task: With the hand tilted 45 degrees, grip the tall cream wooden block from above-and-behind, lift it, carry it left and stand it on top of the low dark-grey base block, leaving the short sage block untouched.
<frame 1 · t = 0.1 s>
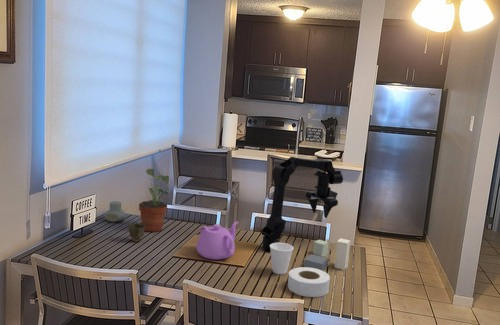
hand: (319, 215, 222), 15 cm above the table, tool pointing down, fingers open, 9 cm apart
air freshener: (115, 221, 237), on the table
cup: (279, 272, 185), on the table
base block: (315, 267, 193), on the table
sage block: (320, 254, 209), on the table
teapot: (218, 254, 200), on the table
cream block: (341, 267, 195), on the table
cup 2: (136, 241, 209), on the table
potted plant: (153, 229, 228), on the table
roll of tape: (307, 288, 171), on the table
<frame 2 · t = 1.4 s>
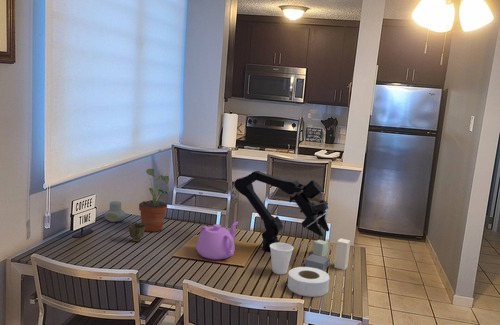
hand: (325, 233, 197), 13 cm above the table, tool tilted 45°, fingers open, 9 cm apart
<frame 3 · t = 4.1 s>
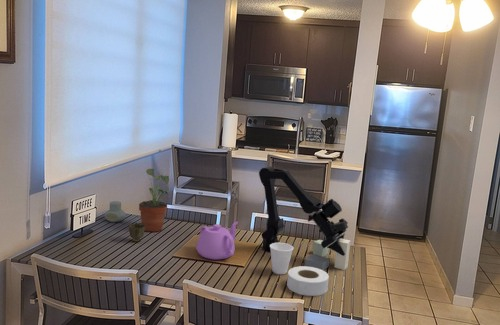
hand: (345, 253, 193), 7 cm above the table, tool tilted 45°, fingers closed on cream block, 5 cm apart
cream block: (341, 267, 195), on the table, touching gripper
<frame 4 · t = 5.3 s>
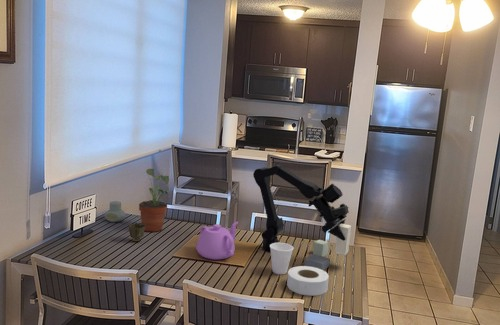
hand: (346, 238, 192), 13 cm above the table, tool tilted 45°, fingers closed on cream block, 5 cm apart
cream block: (341, 252, 194), point 7 cm above the table, touching gripper
when the fingers open (11 cm above the table, at t = 6.8 s): cream block drops 1 cm, point 4 cm above the table.
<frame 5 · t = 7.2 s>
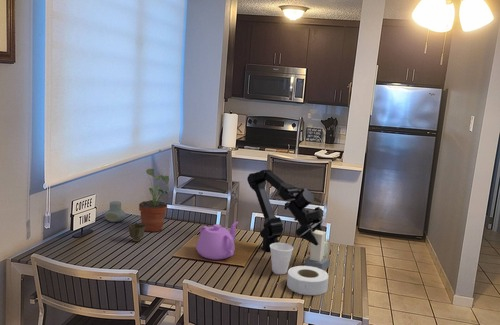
hand: (321, 242, 190), 12 cm above the table, tool tilted 45°, fingers open, 9 cm apart
cream block: (316, 258, 192), point 4 cm above the table
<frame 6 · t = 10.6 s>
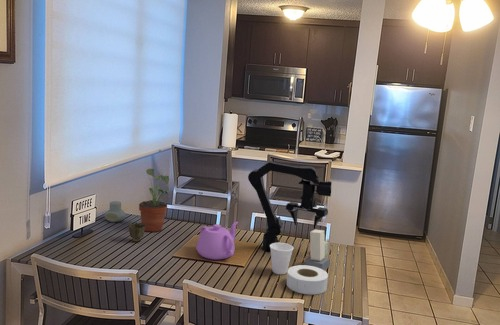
hand: (305, 227, 205), 13 cm above the table, tool pointing down, fingers open, 9 cm apart
base block: (316, 267, 193), on the table, touching cream block
cream block: (317, 258, 192), point 4 cm above the table, tilted 7°, touching base block
at the end: cream block 0.1 cm off-centre on the base block, point 4.4 cm above the base block's base; cream block tilted 11°; the gripper is holding nothing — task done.
